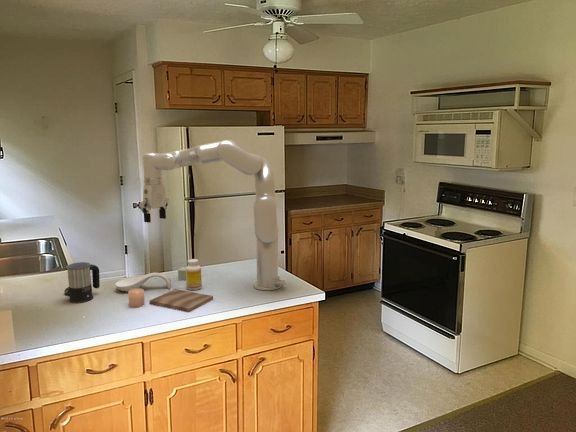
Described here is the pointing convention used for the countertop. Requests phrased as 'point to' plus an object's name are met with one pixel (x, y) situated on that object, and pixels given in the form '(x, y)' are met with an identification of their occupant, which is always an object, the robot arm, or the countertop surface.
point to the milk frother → (81, 281)
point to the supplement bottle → (193, 275)
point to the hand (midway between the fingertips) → (155, 220)
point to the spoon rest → (139, 281)
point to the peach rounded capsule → (136, 297)
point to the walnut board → (181, 300)
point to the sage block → (182, 274)
